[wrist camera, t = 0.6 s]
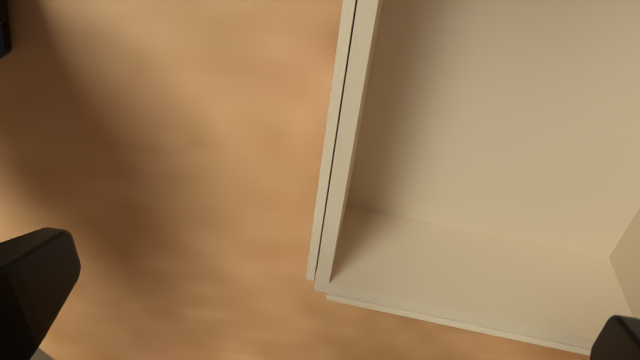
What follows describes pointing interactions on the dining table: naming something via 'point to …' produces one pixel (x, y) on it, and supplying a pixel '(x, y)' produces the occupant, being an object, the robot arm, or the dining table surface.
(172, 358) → the dining table surface
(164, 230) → the dining table surface
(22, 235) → the robot arm
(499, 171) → the carton
